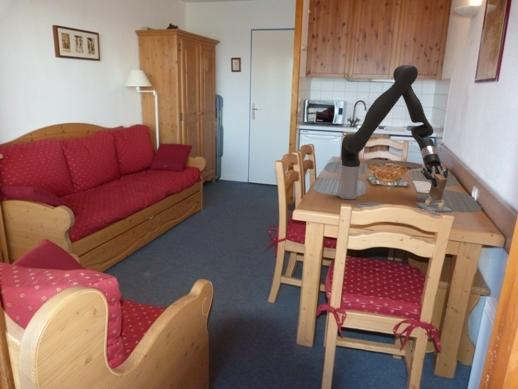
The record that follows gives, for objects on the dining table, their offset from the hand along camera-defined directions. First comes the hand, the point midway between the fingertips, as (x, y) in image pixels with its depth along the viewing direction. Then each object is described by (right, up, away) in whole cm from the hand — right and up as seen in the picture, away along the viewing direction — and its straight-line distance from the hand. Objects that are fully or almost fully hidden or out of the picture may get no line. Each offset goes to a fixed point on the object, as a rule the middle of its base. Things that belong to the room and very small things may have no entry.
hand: (439, 186), depth 195 cm
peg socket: (-1, -11, +5) cm, 12 cm away
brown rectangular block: (-1, -5, +4) cm, 7 cm away
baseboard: (+12, -1, +47) cm, 49 cm away
